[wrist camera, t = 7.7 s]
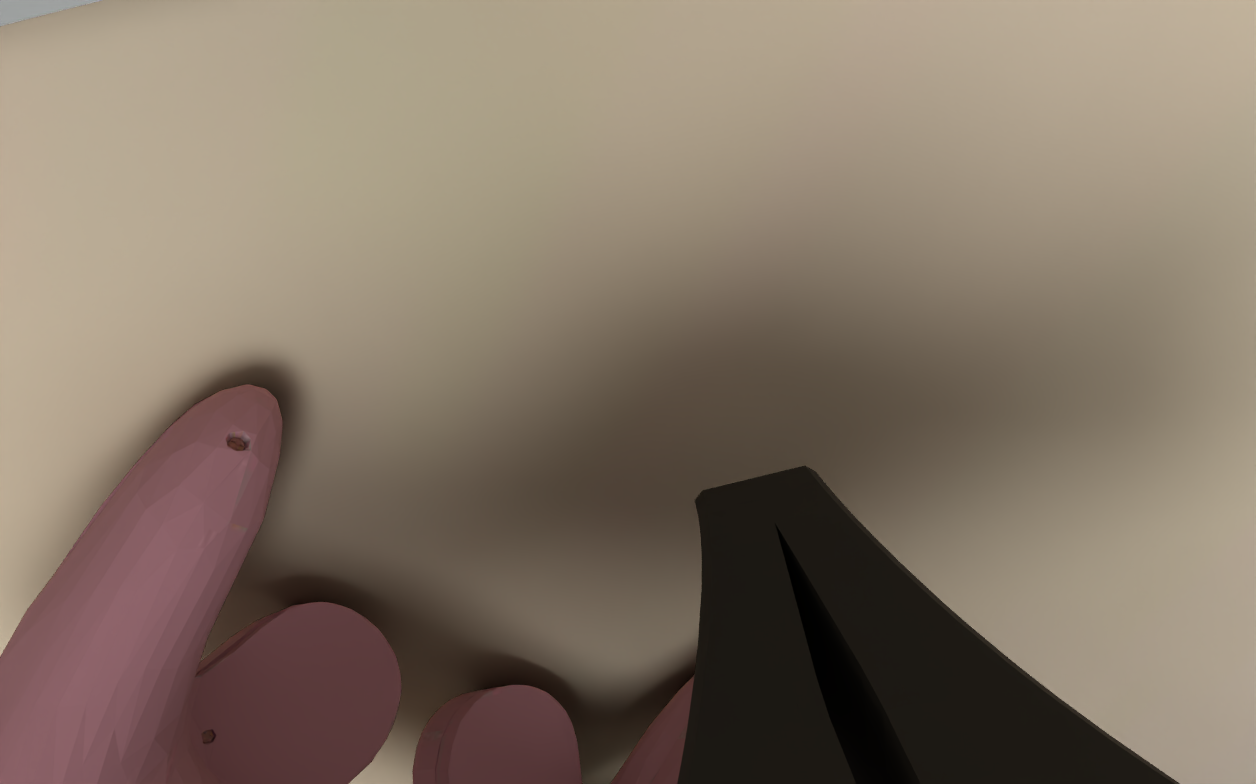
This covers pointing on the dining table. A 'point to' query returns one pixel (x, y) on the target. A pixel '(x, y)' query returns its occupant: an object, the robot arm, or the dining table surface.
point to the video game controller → (242, 652)
